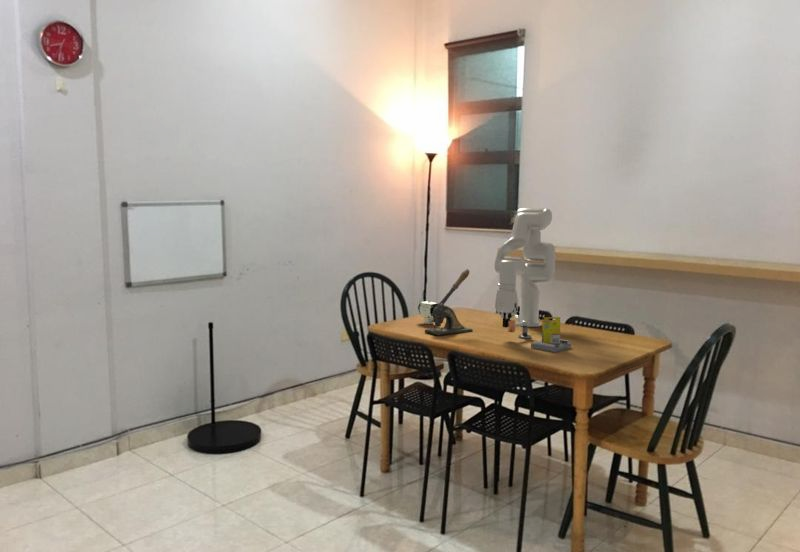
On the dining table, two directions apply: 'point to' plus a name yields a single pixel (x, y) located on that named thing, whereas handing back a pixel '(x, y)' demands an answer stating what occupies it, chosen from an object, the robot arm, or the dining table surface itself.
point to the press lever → (517, 324)
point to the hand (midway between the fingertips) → (506, 326)
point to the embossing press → (448, 314)
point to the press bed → (551, 346)
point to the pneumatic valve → (427, 310)
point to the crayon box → (551, 330)
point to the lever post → (524, 333)
